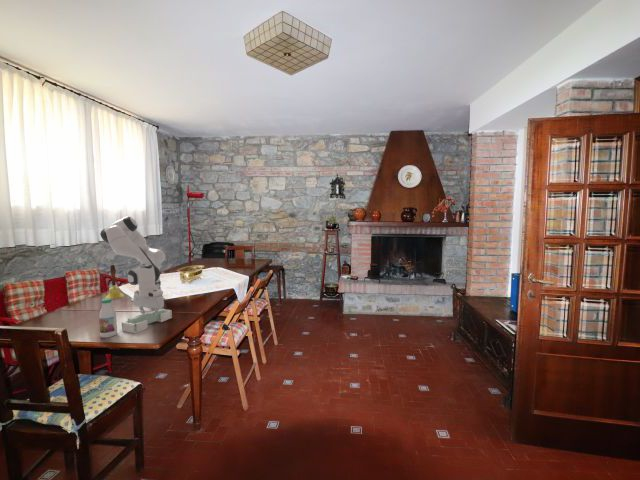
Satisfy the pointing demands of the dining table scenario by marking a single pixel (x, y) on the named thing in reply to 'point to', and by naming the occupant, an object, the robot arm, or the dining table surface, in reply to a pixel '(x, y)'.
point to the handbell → (113, 286)
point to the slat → (146, 317)
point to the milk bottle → (107, 319)
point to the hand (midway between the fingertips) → (149, 314)
